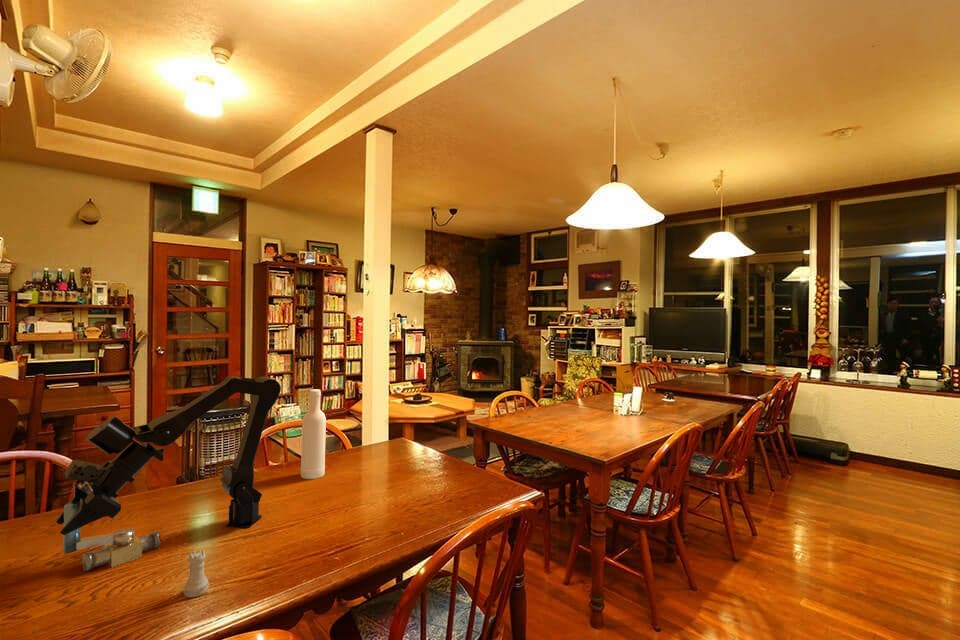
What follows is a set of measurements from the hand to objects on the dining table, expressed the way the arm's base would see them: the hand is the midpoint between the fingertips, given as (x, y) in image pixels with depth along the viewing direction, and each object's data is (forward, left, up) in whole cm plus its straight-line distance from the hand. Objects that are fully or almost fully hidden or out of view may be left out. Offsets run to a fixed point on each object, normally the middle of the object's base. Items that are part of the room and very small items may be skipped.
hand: (59, 528), depth 97 cm
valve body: (-8, -8, -10) cm, 15 cm away
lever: (-4, -5, -6) cm, 9 cm away
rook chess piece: (-32, +2, -10) cm, 34 cm away
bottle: (-27, -64, -10) cm, 70 cm away
